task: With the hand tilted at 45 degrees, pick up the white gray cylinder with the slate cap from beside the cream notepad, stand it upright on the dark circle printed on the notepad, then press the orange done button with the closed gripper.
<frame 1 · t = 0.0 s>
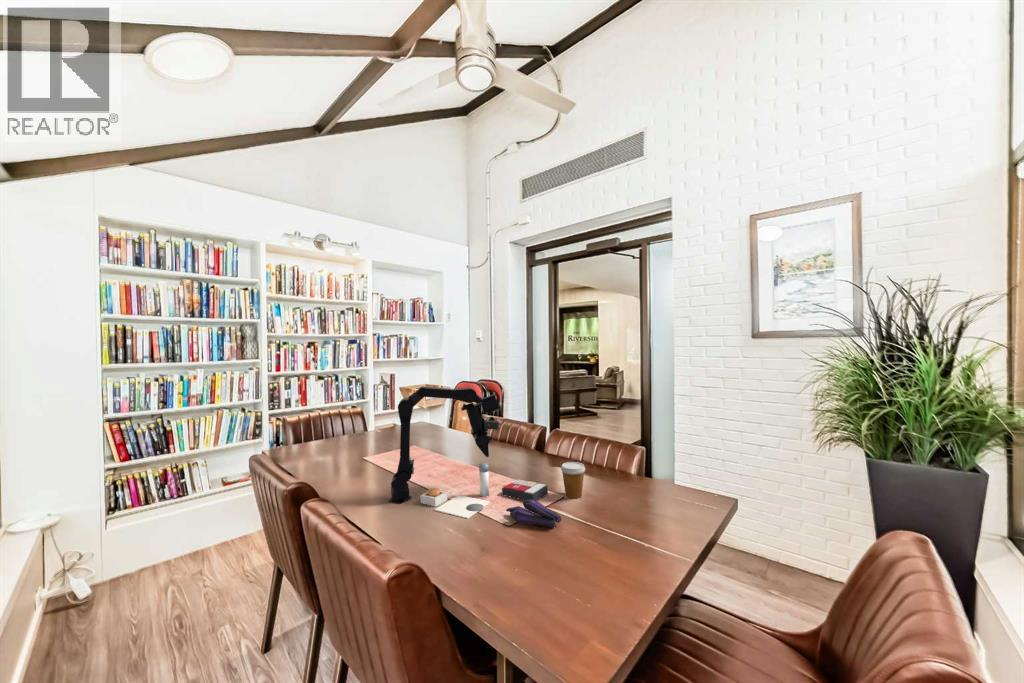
hand: (486, 453, 166), 15 cm above the table, tool pointing down, fingers open, 9 cm apart
white gray cylinder: (484, 495, 162), on the table
button housing: (434, 501, 157), on the table
done button: (434, 493, 157), point 3 cm above the table, slide at 0.0 cm
disposable coffee cup: (573, 496, 159), on the table
red gray flat box: (524, 495, 162), on the table
purple stapler: (531, 522, 138), on the table
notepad: (463, 506, 152), on the table
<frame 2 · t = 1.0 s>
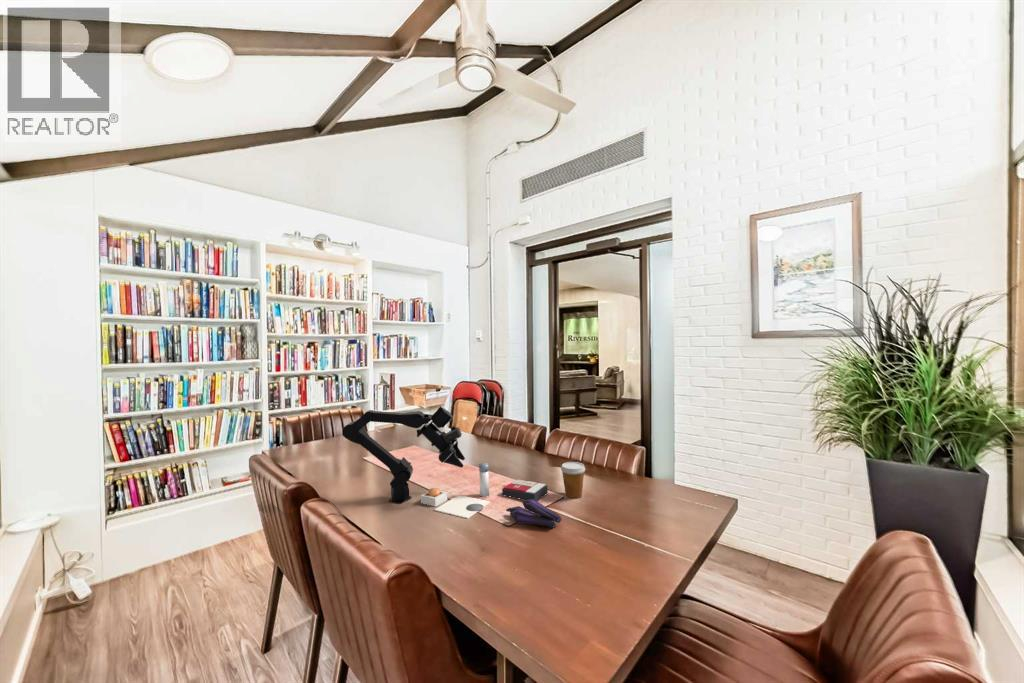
hand: (463, 463, 161), 13 cm above the table, tool tilted 45°, fingers open, 9 cm apart
nothing on the table moved.
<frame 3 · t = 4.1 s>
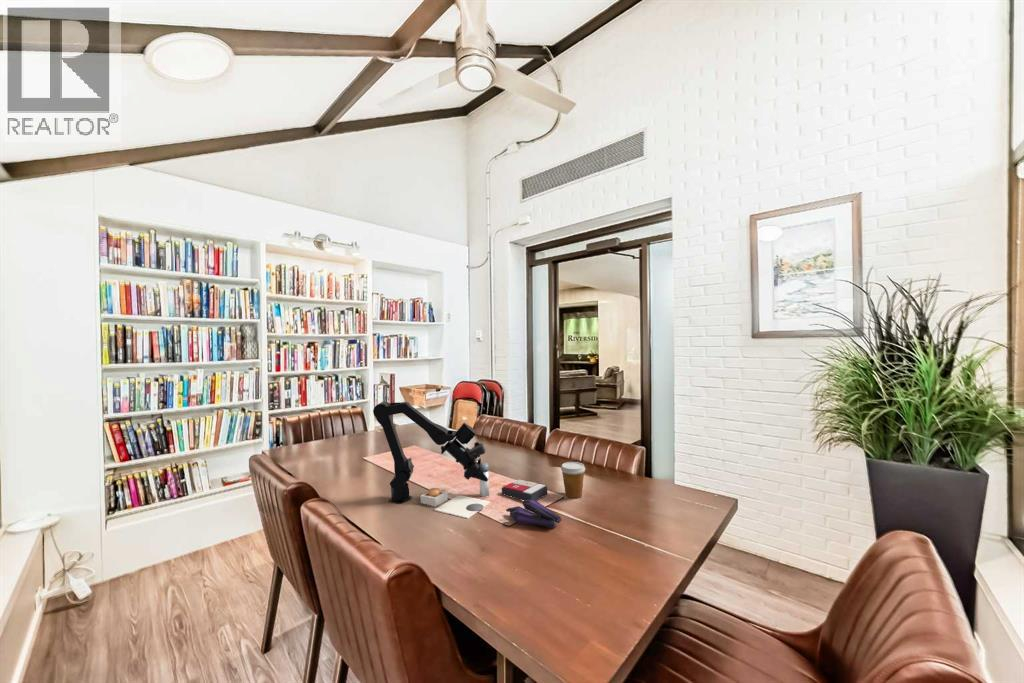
hand: (487, 478, 162), 7 cm above the table, tool tilted 45°, fingers closed on white gray cylinder, 4 cm apart
white gray cylinder: (484, 495, 162), on the table, touching gripper
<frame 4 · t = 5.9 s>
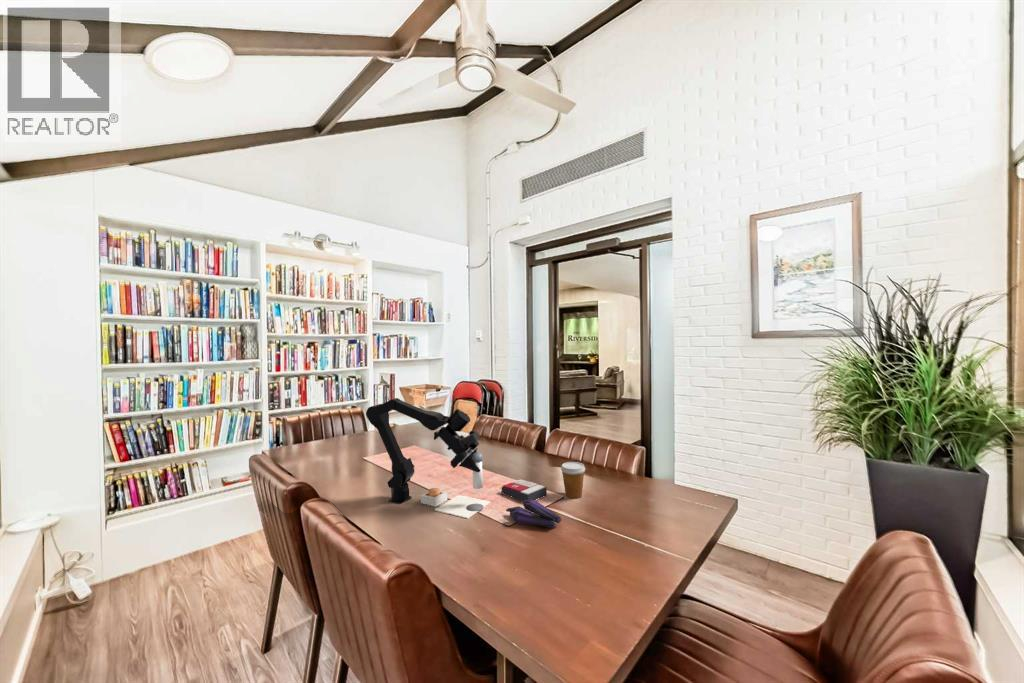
hand: (481, 469, 152), 13 cm above the table, tool tilted 45°, fingers closed on white gray cylinder, 4 cm apart
white gray cylinder: (478, 487, 153), point 7 cm above the table, touching gripper
when the fingers open (8 cm above the table, at t = 7.8 s): white gray cylinder stays where it is, resting on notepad.
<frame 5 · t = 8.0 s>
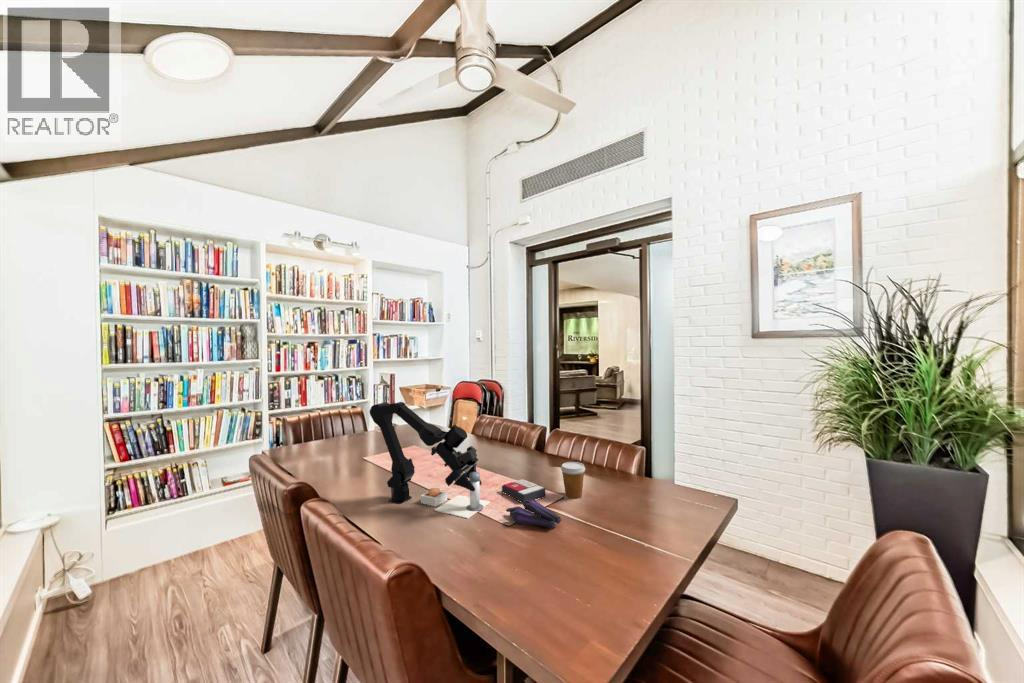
hand: (477, 487, 149), 8 cm above the table, tool tilted 45°, fingers open, 6 cm apart
white gray cylinder: (474, 507, 150), point 1 cm above the table, touching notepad
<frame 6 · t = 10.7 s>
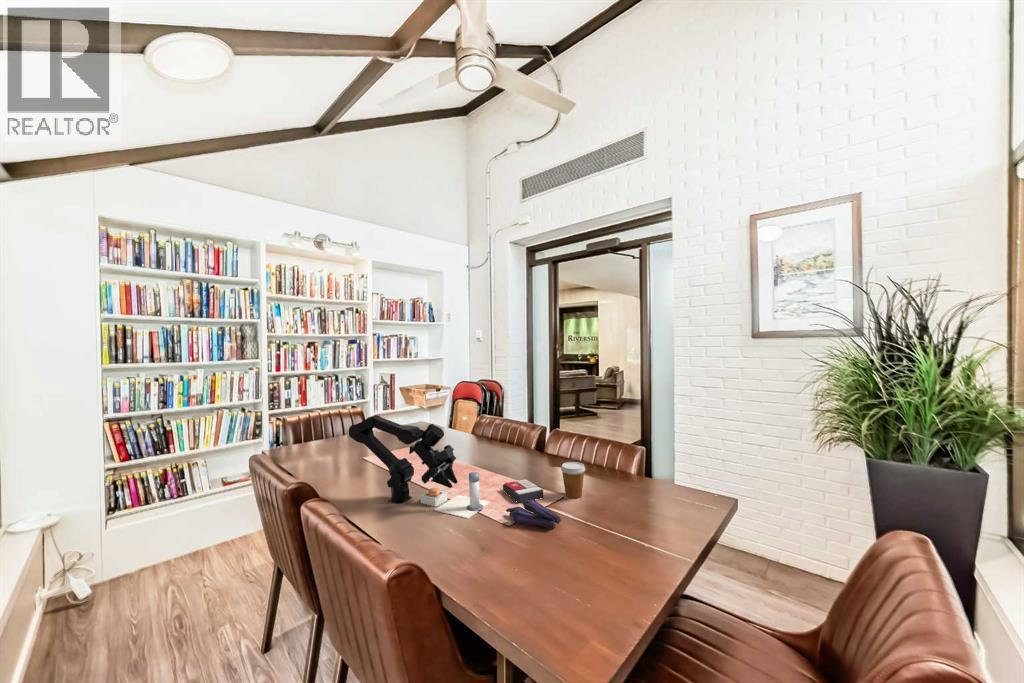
hand: (454, 485, 152), 8 cm above the table, tool tilted 45°, fingers open, 4 cm apart
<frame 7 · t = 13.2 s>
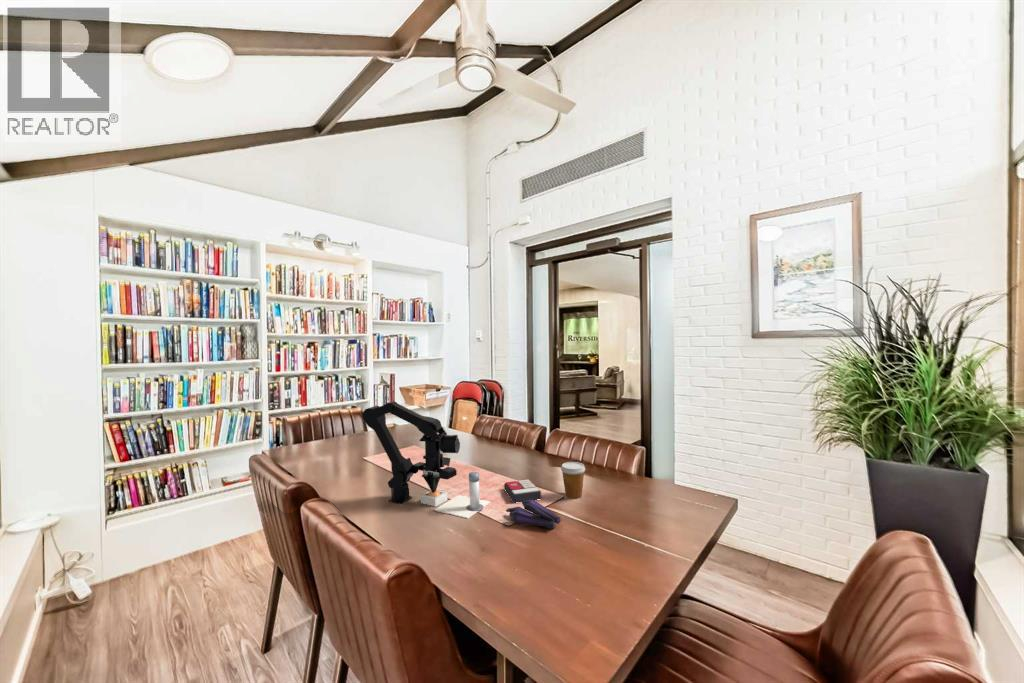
hand: (433, 492, 157), 4 cm above the table, tool pointing down, fingers closed, pressing on done button
done button: (434, 495, 157), point 2 cm above the table, slide at 0.9 cm, touching gripper
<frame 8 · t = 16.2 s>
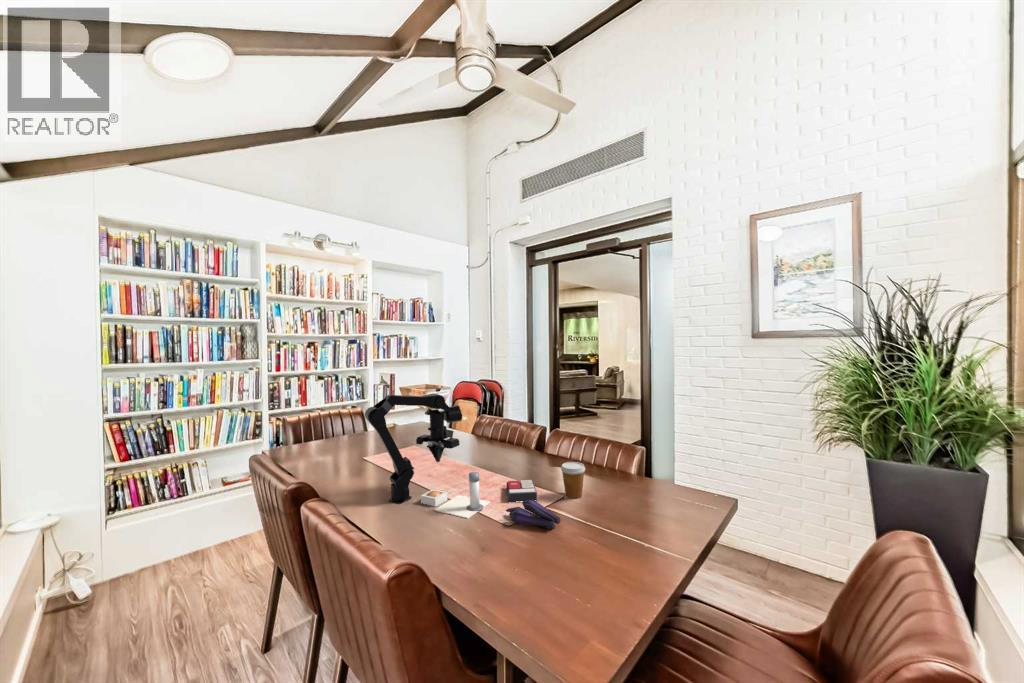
hand: (438, 461, 168), 12 cm above the table, tool pointing down, fingers closed
done button: (434, 496, 157), point 2 cm above the table, slide at 1.2 cm
at the end: white gray cylinder 0.0 cm from the target spot, point 0.5 cm above the table; white gray cylinder tilted 0°; done button slide at 1.2 cm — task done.
